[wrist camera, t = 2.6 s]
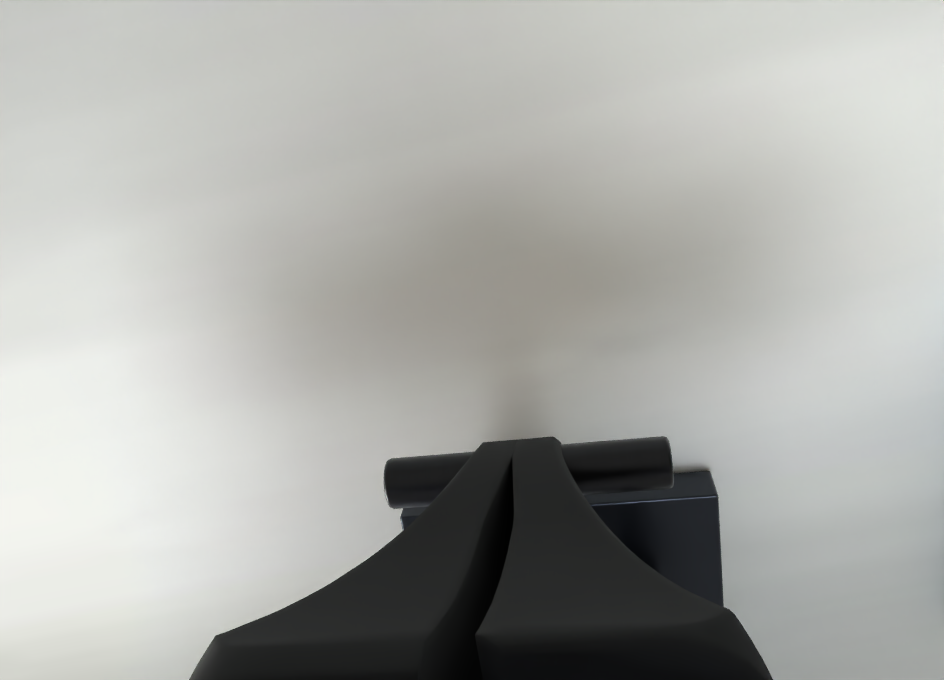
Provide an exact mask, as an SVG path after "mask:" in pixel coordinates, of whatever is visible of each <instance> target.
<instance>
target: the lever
mask: <svg viewBox="0 0 944 680" xmlns="http://www.w3.org/2000/svg"><path fill="white" fill-rule="evenodd" d="M561 448H562V455H563V458H564V460H565V463H566V465H567V467H568V469H569V471H570V473H571V475H572V477H573V479H574V481H575V482H576V484H577V485H578V487H579V489H580V490H581V492H582V494H583V495H593V494H607V493H620V492H634V491H648V490H662V489H670V488H672V487H673V484H674V474H673V463H672V455H671V449H670V443H669V440H668V439H667V437H664V436H661V437H649V438H637V439H624V440H612V441H600V442H588V443H575V444H563V445H561ZM473 453H474V452H465V453H453V454H440V455H428V456H416V457H404V458H392V459H390V460H388V461H387V462H386V465H385V470H384V491H385V496H386V500H387V502H388V505H389V506H390V507H391V508H394V509H398V508H412V507H426V506H429V505H430V504H431V503H432V502H433V501H434V500H435V499H436V498H437V496H438V495H439V494H440V493H441V492H442V491H443V490H444V488H445V487H446V486H447V485H448V484H449V483H450V481H451V480H452V479H453V478H454V477H455V475H456V474H457V473H458V472H459V471H460V469H461V468H462V467H463V466H464V464H465V463H466V462H467V461H468V459H469V458H470V457H471V456H472V454H473Z"/></svg>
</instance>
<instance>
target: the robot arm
mask: <svg viewBox="0 0 944 680" xmlns="http://www.w3.org/2000/svg"><path fill="white" fill-rule="evenodd" d="M189 680H773V679H772V677H771V675H770V673H769V671H768V669H767V667H766V665H765V663H764V661H763V659H762V657H761V656H760V654H759V652H758V650H757V649H756V647H755V645H754V644H753V642H752V640H751V639H750V637H749V636H748V634H747V632H746V631H745V629H744V628H743V626H742V625H741V623H740V622H739V620H738V619H737V617H736V616H735V614H734V613H733V612H732V611H730V610H729V609H727V608H724V607H722V606H720V605H718V604H715V603H713V602H711V601H709V600H707V599H704V598H702V597H700V596H698V595H695V594H693V593H691V592H689V591H687V590H685V589H684V588H682V587H680V586H678V585H677V584H675V583H673V582H672V581H670V580H668V579H667V578H665V577H663V576H662V575H661V574H659V573H658V572H657V571H655V570H654V569H652V568H651V567H650V566H648V565H647V564H646V563H644V562H643V561H642V560H641V559H639V558H638V557H637V556H636V555H635V554H634V553H633V552H632V551H631V550H629V549H628V548H627V547H626V546H625V545H624V544H623V543H622V542H621V541H620V540H619V539H618V538H617V537H616V536H615V535H614V534H613V533H612V531H611V530H610V529H609V528H608V527H607V526H606V525H605V523H604V522H603V521H602V520H601V519H600V517H599V516H598V515H597V513H596V512H595V511H594V509H593V508H592V507H591V505H590V504H589V503H588V501H587V500H586V498H585V497H584V495H583V494H582V492H581V490H580V489H579V487H578V485H577V484H576V482H575V481H574V479H573V477H572V475H571V473H570V471H569V469H568V467H567V465H566V463H565V460H564V458H563V455H562V448H561V442H560V441H558V440H557V439H556V438H555V437H543V438H531V439H519V440H507V441H495V442H483V443H482V444H481V445H480V446H479V448H478V449H477V450H476V451H475V452H474V453H473V454H472V456H471V457H470V458H469V459H468V461H467V462H466V463H465V464H464V466H463V467H462V468H461V469H460V471H459V472H458V473H457V474H456V475H455V477H454V478H453V479H452V480H451V481H450V483H449V484H448V485H447V486H446V487H445V488H444V490H443V491H442V492H441V493H440V494H439V495H438V496H437V498H436V499H435V500H434V501H433V502H432V503H431V504H430V505H429V506H428V507H427V508H426V509H425V510H424V511H423V512H422V513H421V514H420V515H419V516H418V517H417V518H416V519H415V520H414V521H413V522H412V523H411V524H410V525H409V526H408V527H407V528H406V529H405V530H404V531H402V532H401V533H400V534H399V535H398V536H397V537H395V538H394V539H393V540H392V541H391V542H389V543H388V544H387V545H386V546H384V547H383V548H382V549H380V550H379V551H378V552H377V553H375V554H374V555H373V556H371V557H370V558H369V559H367V560H366V561H364V562H363V563H361V564H360V565H358V566H357V567H355V568H354V569H352V570H350V571H349V572H347V573H346V574H344V575H343V576H341V577H340V578H338V579H337V580H335V581H334V582H332V583H330V584H329V585H327V586H325V587H324V588H322V589H320V590H318V591H316V592H314V593H313V594H311V595H309V596H307V597H305V598H303V599H301V600H299V601H297V602H295V603H293V604H291V605H289V606H287V607H285V608H283V609H281V610H279V611H276V612H274V613H272V614H270V615H267V616H265V617H262V618H260V619H258V620H255V621H253V622H250V623H248V624H245V625H243V626H240V627H238V628H235V629H233V630H230V631H228V632H225V633H222V634H219V635H216V636H215V637H214V639H213V641H212V642H211V644H210V645H209V647H208V648H207V650H206V652H205V653H204V655H203V656H202V658H201V659H200V661H199V663H198V664H197V666H196V668H195V670H194V672H193V674H192V676H191V677H190V679H189Z"/></svg>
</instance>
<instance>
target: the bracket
mask: <svg viewBox="0 0 944 680" xmlns="http://www.w3.org/2000/svg"><path fill="white" fill-rule="evenodd" d="M673 474H674V484H673V487H672V488H670V489H662V490H648V491H634V492H620V493H607V494H593V495H584V497H585V498H586V500H587V501H588V503H589V504H590V505H591V507H592V508H593V509H594V511H595V512H596V513H597V515H598V516H599V517H600V519H601V520H602V521H603V522H604V523H605V525H606V526H607V527H608V528H609V529H610V530H611V531H612V533H613V534H614V535H615V536H616V537H617V538H618V539H619V540H620V541H621V542H622V543H623V544H624V545H625V546H626V547H627V548H628V549H629V550H631V551H632V552H633V553H634V554H635V555H636V556H637V557H638V558H639V559H641V560H642V561H643V562H644V563H646V564H647V565H648V566H650V567H651V568H652V569H654V570H655V571H657V572H658V573H659V574H661V575H662V576H663V577H665V578H667V579H668V580H670V581H672V582H673V583H675V584H677V585H678V586H680V587H682V588H684V589H685V590H687V591H689V592H691V593H693V594H695V595H698V596H700V597H702V598H704V599H707V600H709V601H711V602H713V603H715V604H718V605H720V606H722V607H724V605H723V585H722V564H721V544H720V524H719V503H718V494H717V491H716V488H715V485H714V482H713V478H712V475H711V472H710V471H699V472H685V473H673ZM427 507H428V506H426V507H412V508H403V511H402V514H401V517H400V519H401V524H402V529H403V531H404V530H405V529H406V528H407V527H408V526H409V525H410V524H411V523H412V522H413V521H414V520H415V519H416V518H417V517H418V516H419V515H420V514H421V513H422V512H423V511H424V510H425V509H426V508H427Z"/></svg>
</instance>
